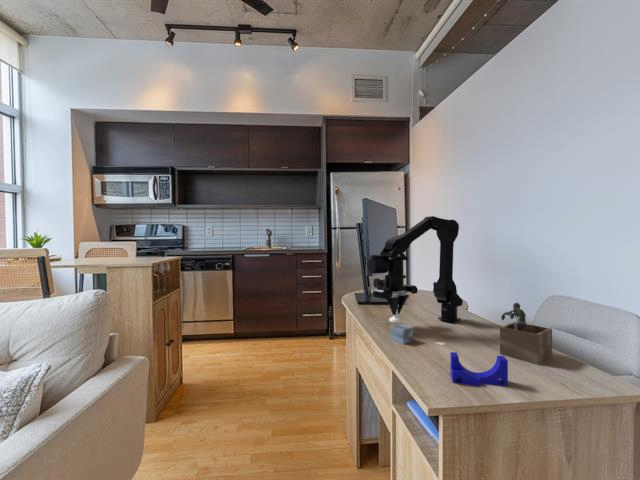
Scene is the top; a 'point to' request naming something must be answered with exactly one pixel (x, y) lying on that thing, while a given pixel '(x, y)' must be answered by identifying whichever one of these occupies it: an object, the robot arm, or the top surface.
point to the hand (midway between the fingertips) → (396, 314)
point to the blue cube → (402, 334)
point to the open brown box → (526, 343)
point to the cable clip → (474, 378)
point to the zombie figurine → (517, 313)
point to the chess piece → (396, 317)
